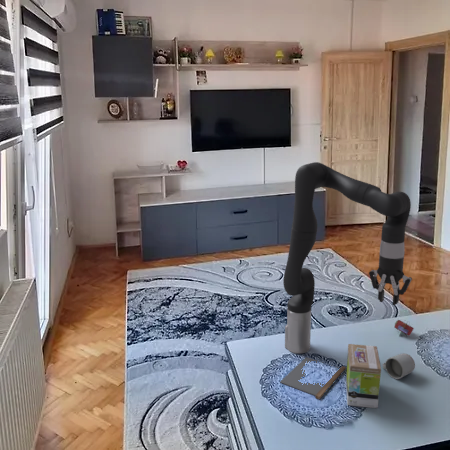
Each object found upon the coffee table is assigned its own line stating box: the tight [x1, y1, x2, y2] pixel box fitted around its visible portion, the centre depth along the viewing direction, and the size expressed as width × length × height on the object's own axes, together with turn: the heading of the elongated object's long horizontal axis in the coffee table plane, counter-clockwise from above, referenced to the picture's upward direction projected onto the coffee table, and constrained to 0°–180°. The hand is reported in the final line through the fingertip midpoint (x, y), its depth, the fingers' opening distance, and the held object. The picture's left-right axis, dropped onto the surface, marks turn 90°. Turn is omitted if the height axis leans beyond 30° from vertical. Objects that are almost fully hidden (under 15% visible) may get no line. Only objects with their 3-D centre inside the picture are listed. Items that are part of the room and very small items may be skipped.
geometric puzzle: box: [393, 319, 415, 337], centre depth 204 cm, size 7×7×8 cm
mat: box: [279, 356, 339, 397], centre depth 178 cm, size 14×20×1 cm
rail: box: [314, 365, 347, 400], centre depth 173 cm, size 2×22×1 cm, turn 143°
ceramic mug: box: [382, 353, 416, 380], centre depth 178 cm, size 11×8×8 cm
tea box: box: [345, 343, 382, 409], centre depth 165 cm, size 15×10×15 cm, turn 168°
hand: (388, 302), depth 163 cm, fingers open, 3 cm apart
